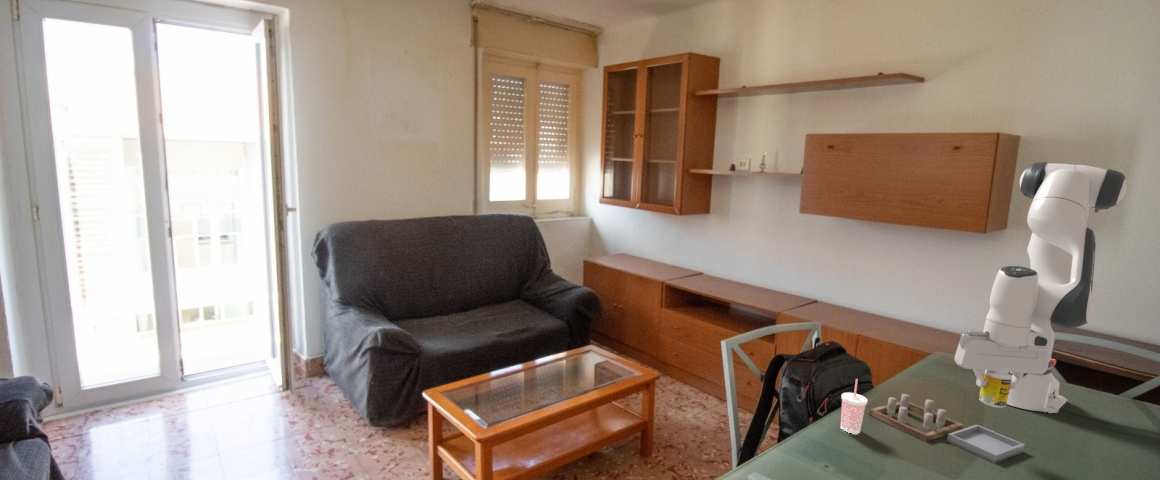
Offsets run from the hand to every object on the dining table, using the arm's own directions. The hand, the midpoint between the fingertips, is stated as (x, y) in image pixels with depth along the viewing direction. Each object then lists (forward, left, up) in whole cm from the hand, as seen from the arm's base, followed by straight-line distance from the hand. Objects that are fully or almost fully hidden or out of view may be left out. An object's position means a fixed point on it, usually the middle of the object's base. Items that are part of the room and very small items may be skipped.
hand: (995, 387), depth 139 cm
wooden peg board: (+4, -16, -16) cm, 23 cm away
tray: (0, 0, -16) cm, 16 cm away
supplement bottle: (0, 0, -5) cm, 4 cm away
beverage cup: (+25, -20, -16) cm, 35 cm away
